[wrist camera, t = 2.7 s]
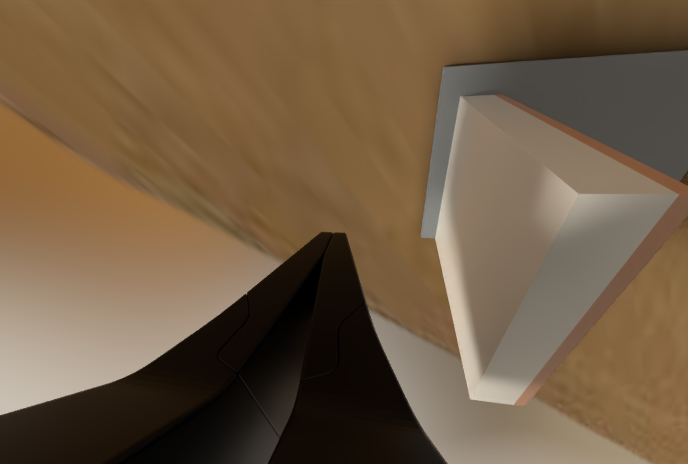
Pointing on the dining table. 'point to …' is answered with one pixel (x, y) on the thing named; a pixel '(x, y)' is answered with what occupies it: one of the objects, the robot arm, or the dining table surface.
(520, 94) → the mat
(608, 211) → the tile
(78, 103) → the dining table surface
